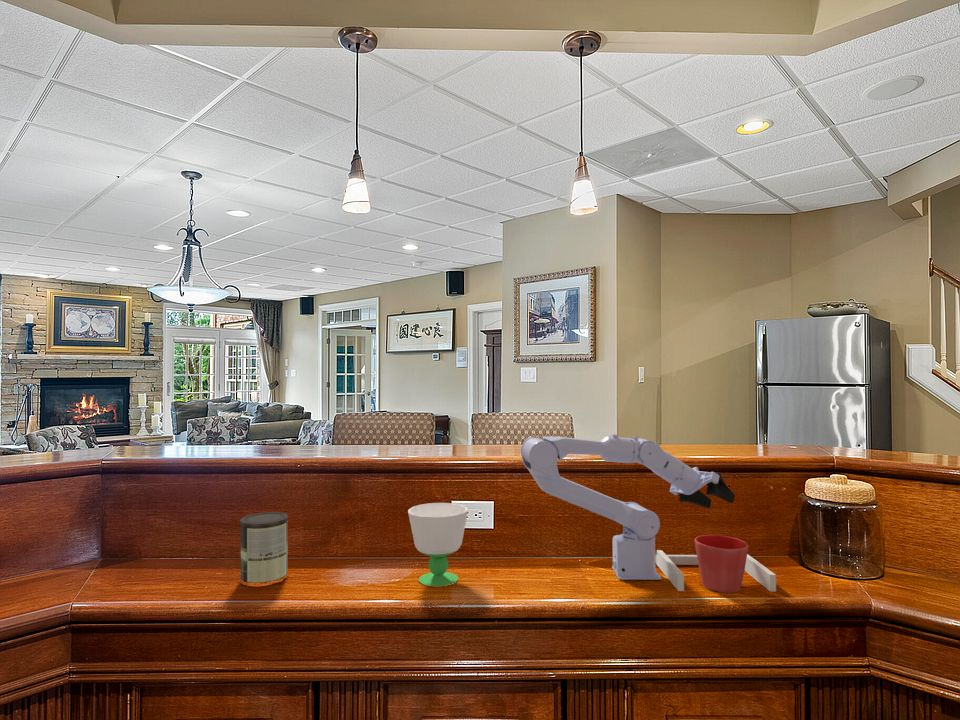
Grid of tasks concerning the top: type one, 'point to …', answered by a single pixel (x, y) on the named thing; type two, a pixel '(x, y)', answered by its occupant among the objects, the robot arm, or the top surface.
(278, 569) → the coffee can
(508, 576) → the top surface
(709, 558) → the flower pot
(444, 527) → the cup
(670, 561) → the u-shaped frame
